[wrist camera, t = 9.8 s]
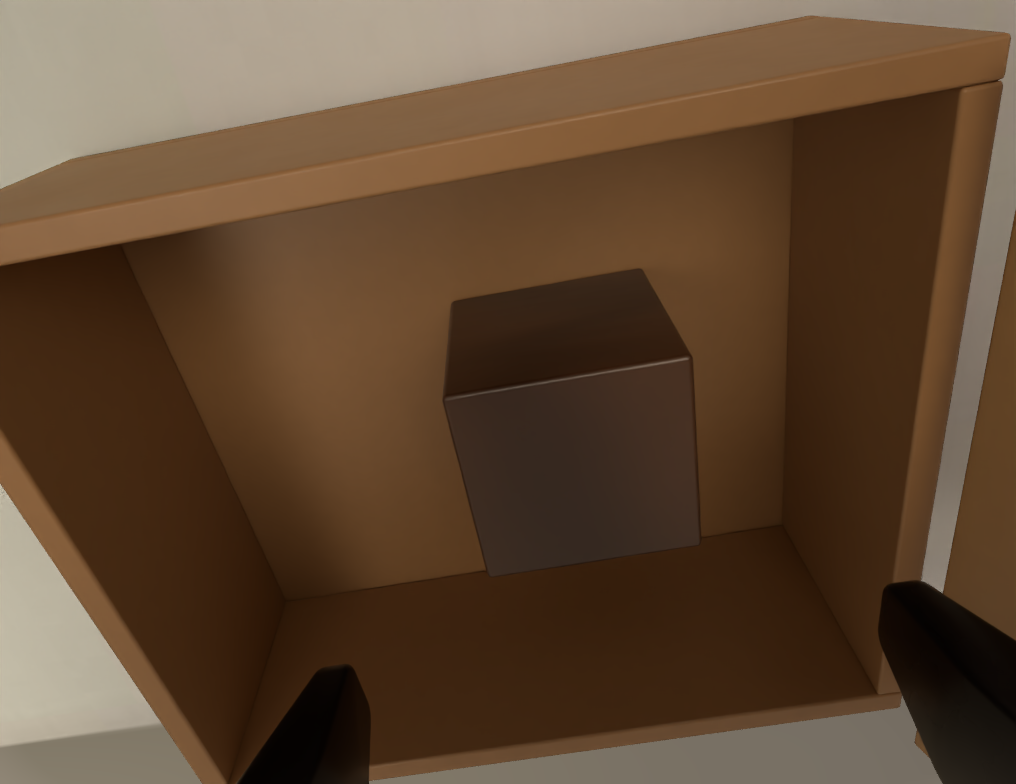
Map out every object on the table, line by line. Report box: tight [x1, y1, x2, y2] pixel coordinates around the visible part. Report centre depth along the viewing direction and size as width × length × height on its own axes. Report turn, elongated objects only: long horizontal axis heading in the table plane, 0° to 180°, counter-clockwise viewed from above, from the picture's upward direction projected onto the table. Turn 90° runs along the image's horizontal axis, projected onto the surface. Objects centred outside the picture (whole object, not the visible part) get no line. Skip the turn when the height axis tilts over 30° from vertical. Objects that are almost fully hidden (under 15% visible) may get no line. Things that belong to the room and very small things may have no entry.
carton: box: [0, 16, 1011, 784], centre depth 14 cm, size 14×12×6 cm
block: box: [442, 268, 702, 577], centre depth 14 cm, size 4×4×4 cm
